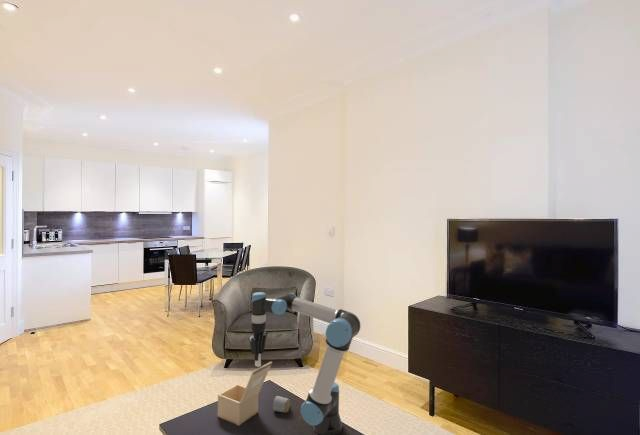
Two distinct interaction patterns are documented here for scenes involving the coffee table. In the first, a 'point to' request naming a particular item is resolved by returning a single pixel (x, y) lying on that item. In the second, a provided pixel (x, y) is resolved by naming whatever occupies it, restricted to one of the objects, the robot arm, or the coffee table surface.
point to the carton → (236, 405)
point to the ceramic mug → (281, 404)
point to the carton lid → (255, 382)
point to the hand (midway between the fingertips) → (257, 365)
